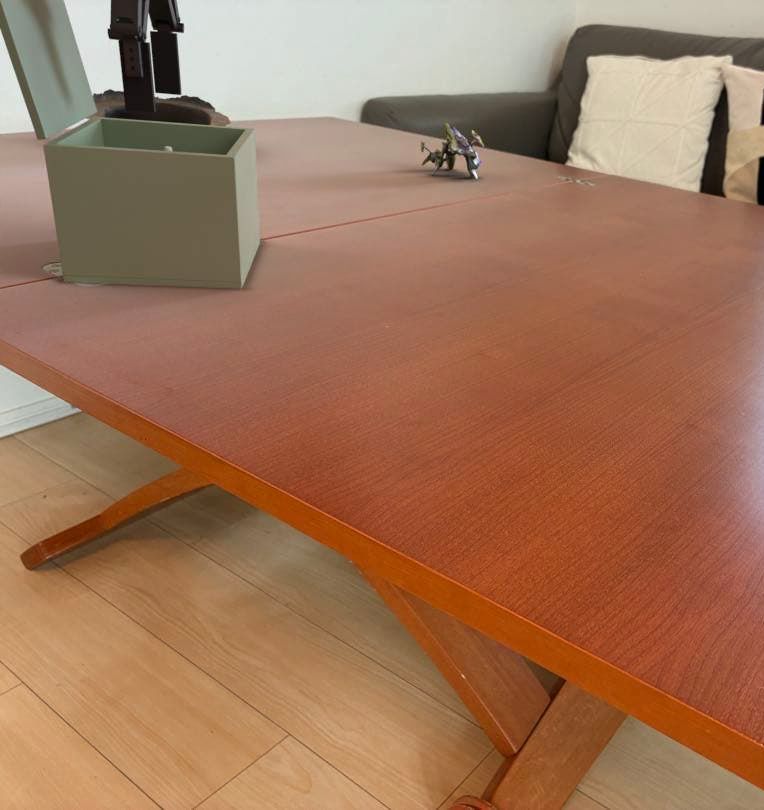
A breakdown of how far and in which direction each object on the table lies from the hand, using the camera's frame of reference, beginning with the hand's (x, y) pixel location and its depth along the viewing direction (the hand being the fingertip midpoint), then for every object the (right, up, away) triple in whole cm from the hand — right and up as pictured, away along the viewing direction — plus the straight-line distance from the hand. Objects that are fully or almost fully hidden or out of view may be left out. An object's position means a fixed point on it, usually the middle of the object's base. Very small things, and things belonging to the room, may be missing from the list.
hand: (155, 102), depth 92 cm
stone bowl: (-27, +12, +60) cm, 67 cm away
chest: (-2, -16, +8) cm, 18 cm away
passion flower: (+25, +9, +67) cm, 72 cm away
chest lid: (-9, +6, -5) cm, 12 cm away
